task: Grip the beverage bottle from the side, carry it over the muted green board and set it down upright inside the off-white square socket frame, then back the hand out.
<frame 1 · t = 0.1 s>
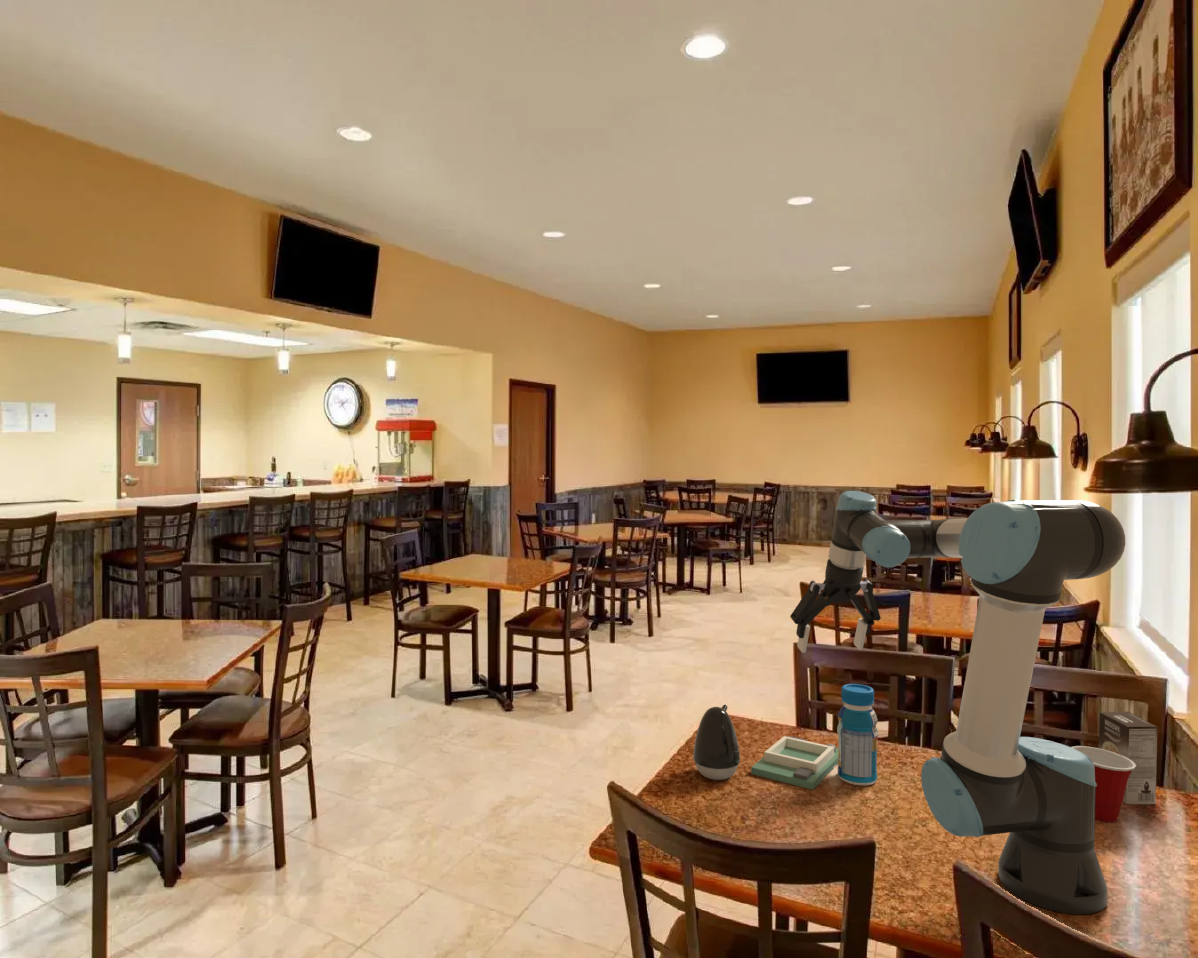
hand: (829, 648, 166), 28 cm above the table, tool tilted 20°, fingers open, 13 cm apart
board: (799, 764, 170), on the table
coffee box: (1126, 795, 154), on the table
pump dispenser: (716, 776, 164), on the table
plastic cup: (1101, 816, 145), on the table
beverage bottle: (857, 779, 162), on the table
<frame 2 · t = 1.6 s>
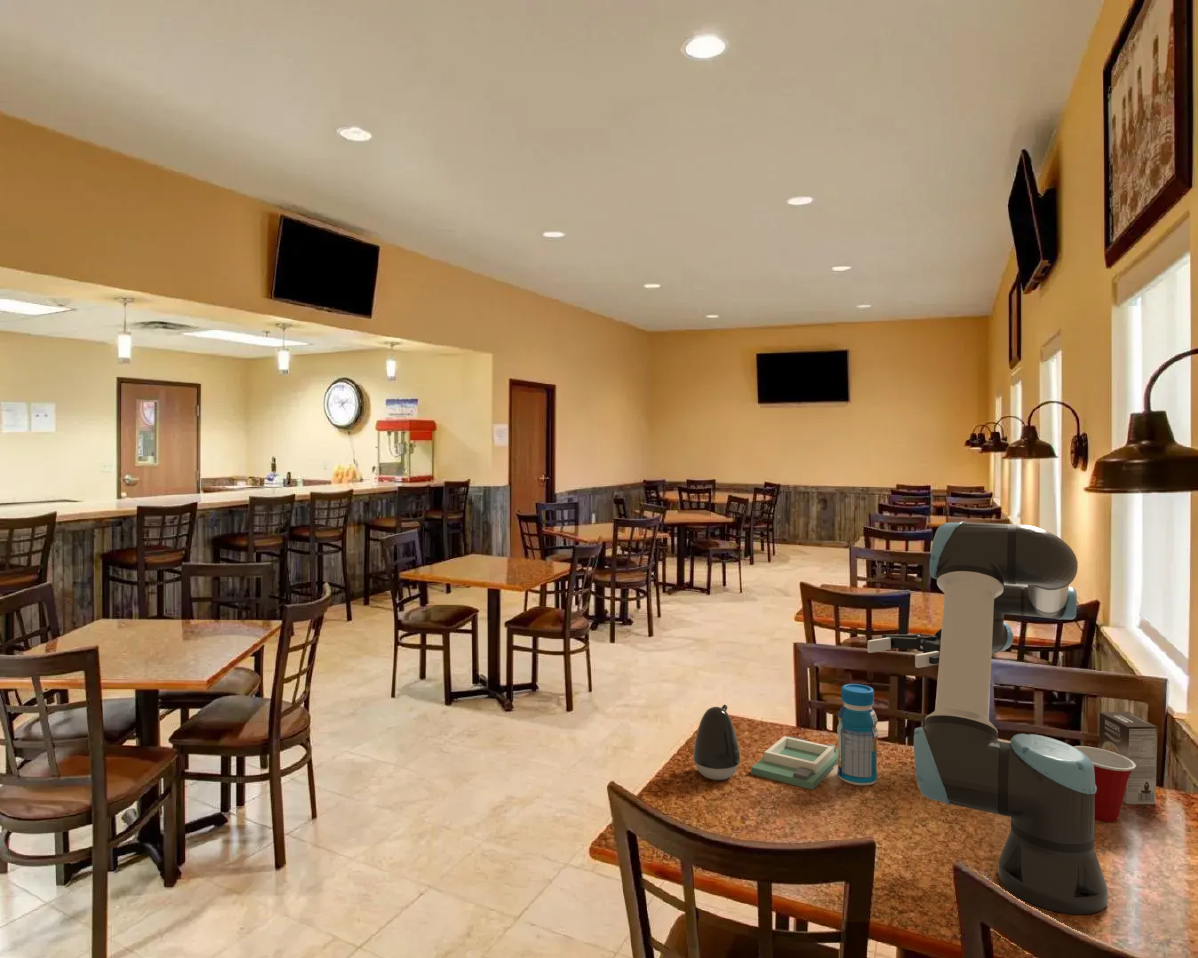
hand: (891, 653, 166), 26 cm above the table, tool horizontal, fingers open, 13 cm apart
nothing on the table moved.
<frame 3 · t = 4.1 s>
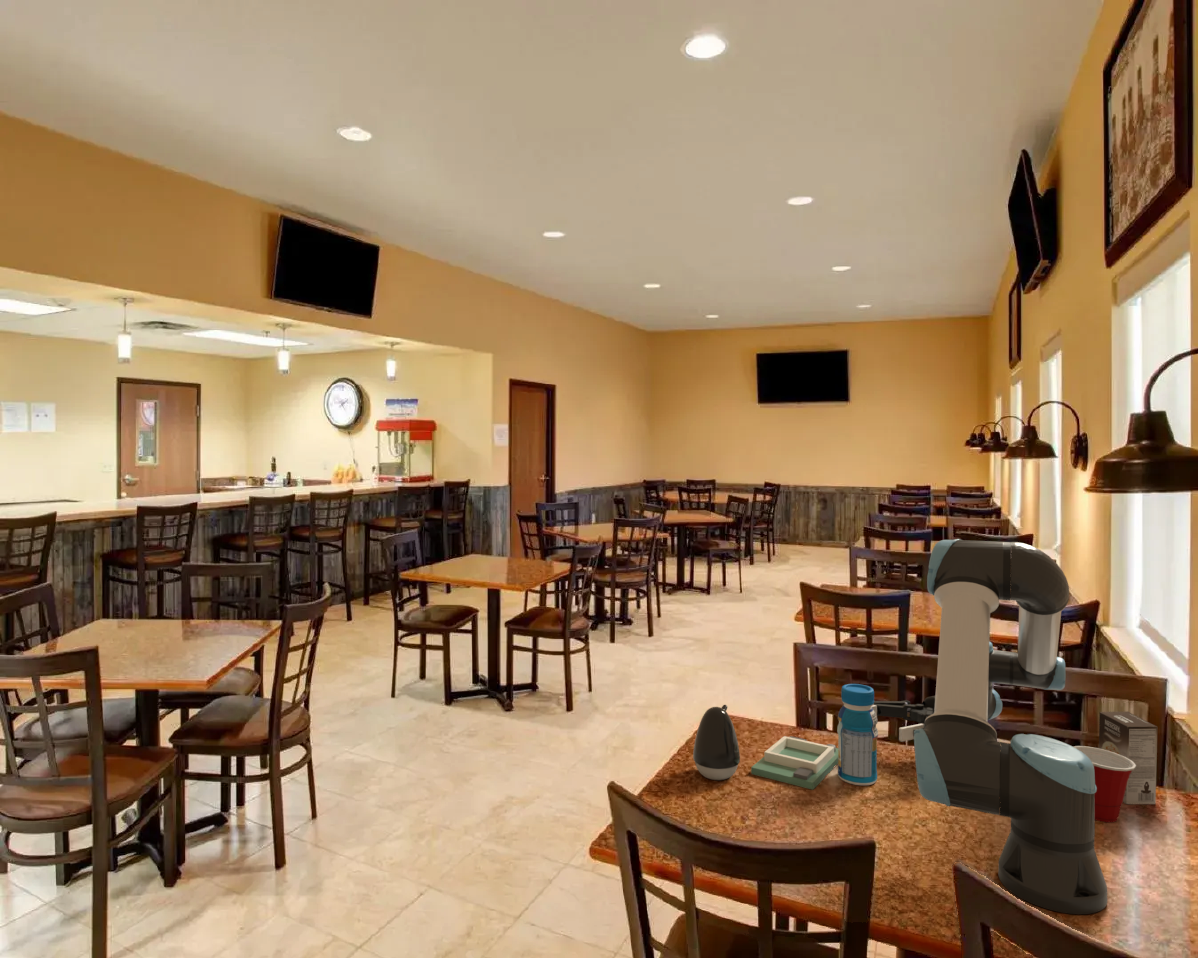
hand: (876, 724, 165), 11 cm above the table, tool horizontal, fingers open, 13 cm apart
nothing on the table moved.
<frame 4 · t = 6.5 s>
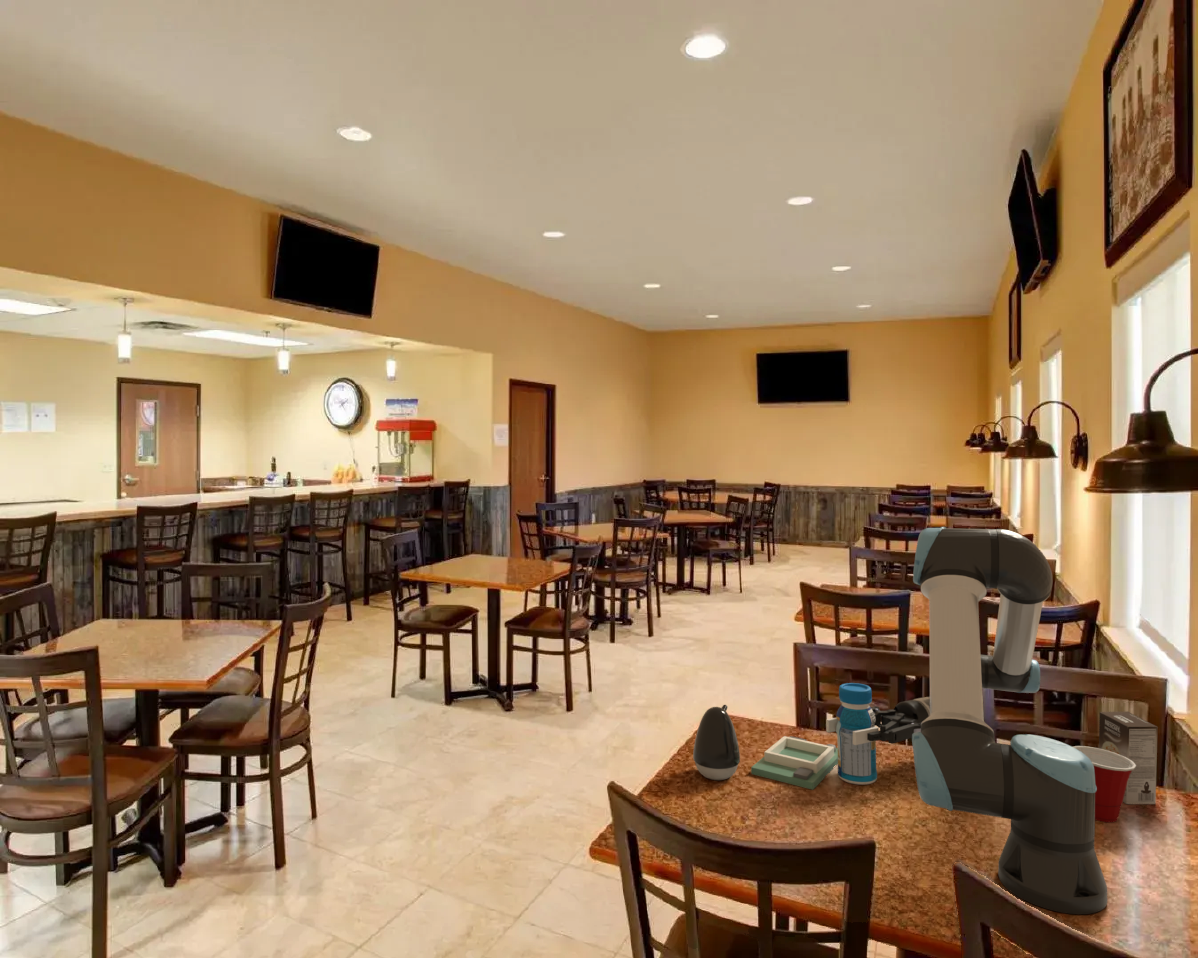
hand: (840, 731, 160), 11 cm above the table, tool horizontal, fingers closed on beverage bottle, 7 cm apart
beverage bottle: (857, 778, 162), on the table, touching gripper
everything else where it was.
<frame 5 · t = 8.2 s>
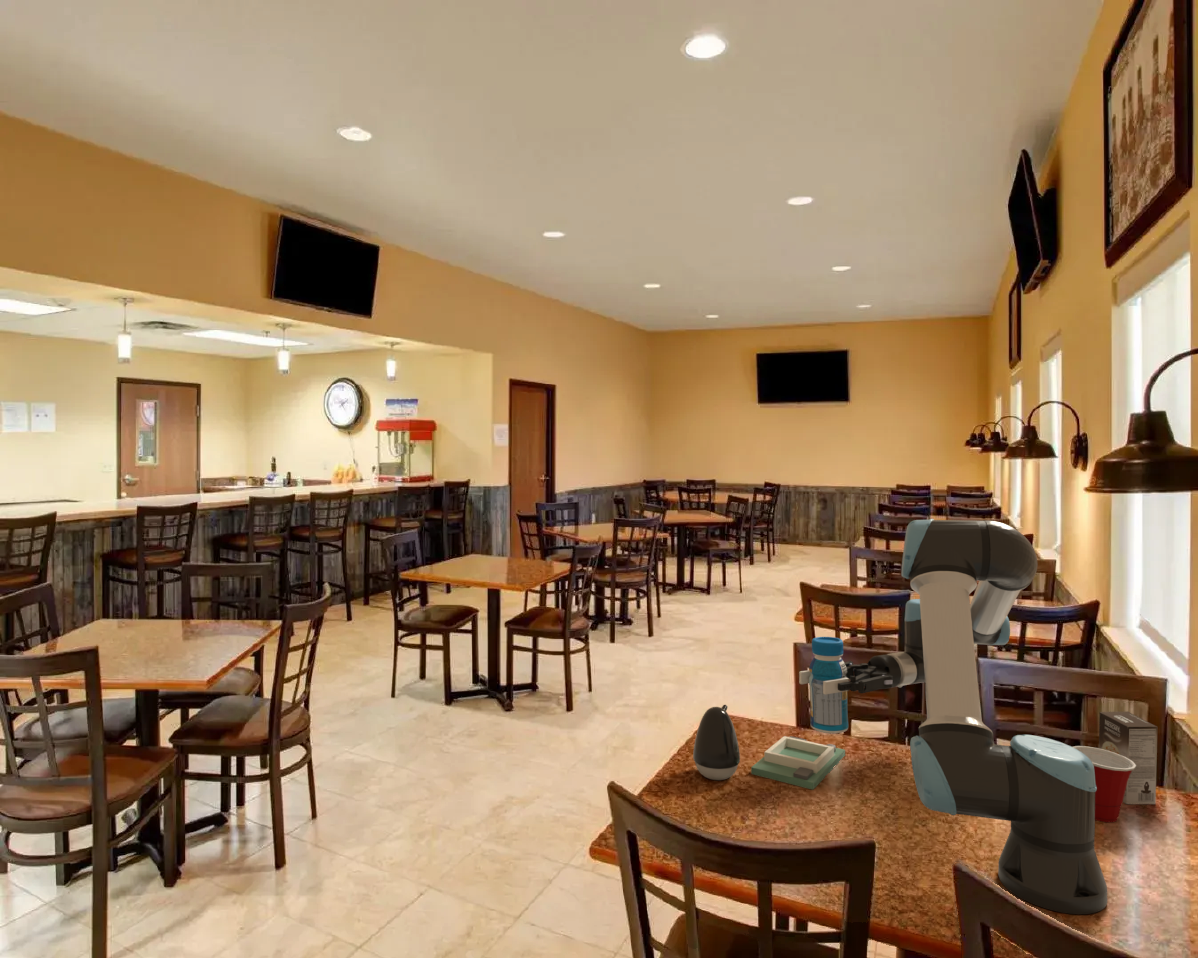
hand: (812, 682, 165), 20 cm above the table, tool horizontal, fingers closed on beverage bottle, 7 cm apart
beverage bottle: (829, 729, 167), point 9 cm above the table, touching gripper
everything else where it was.
when the fingers open (14 cm above the table, at t = 10.2 s): beverage bottle drops 1 cm, resting on board.
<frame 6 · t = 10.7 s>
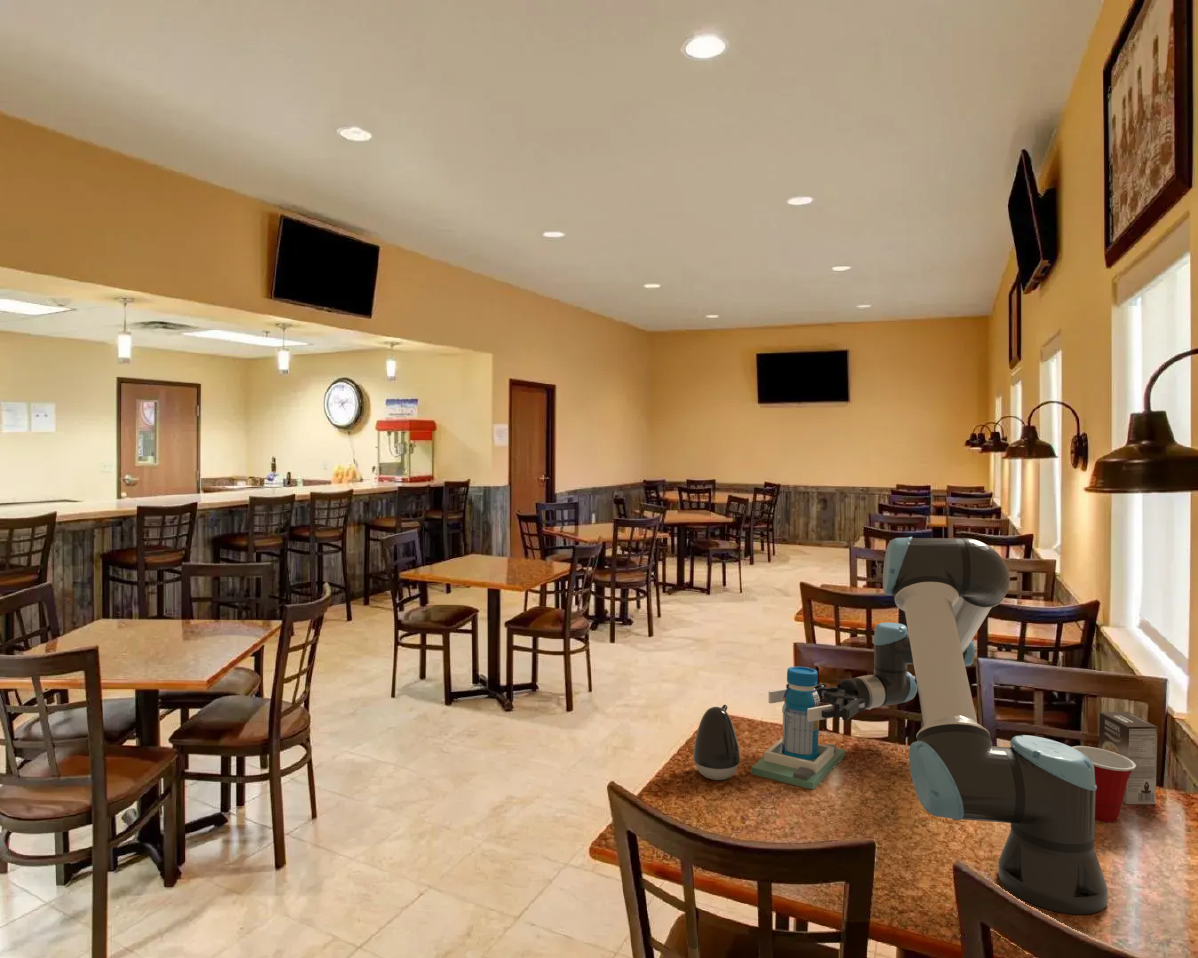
hand: (788, 705, 168), 14 cm above the table, tool horizontal, fingers open, 13 cm apart
beverage bottle: (799, 757, 170), point 1 cm above the table, touching board
everything else where it was.
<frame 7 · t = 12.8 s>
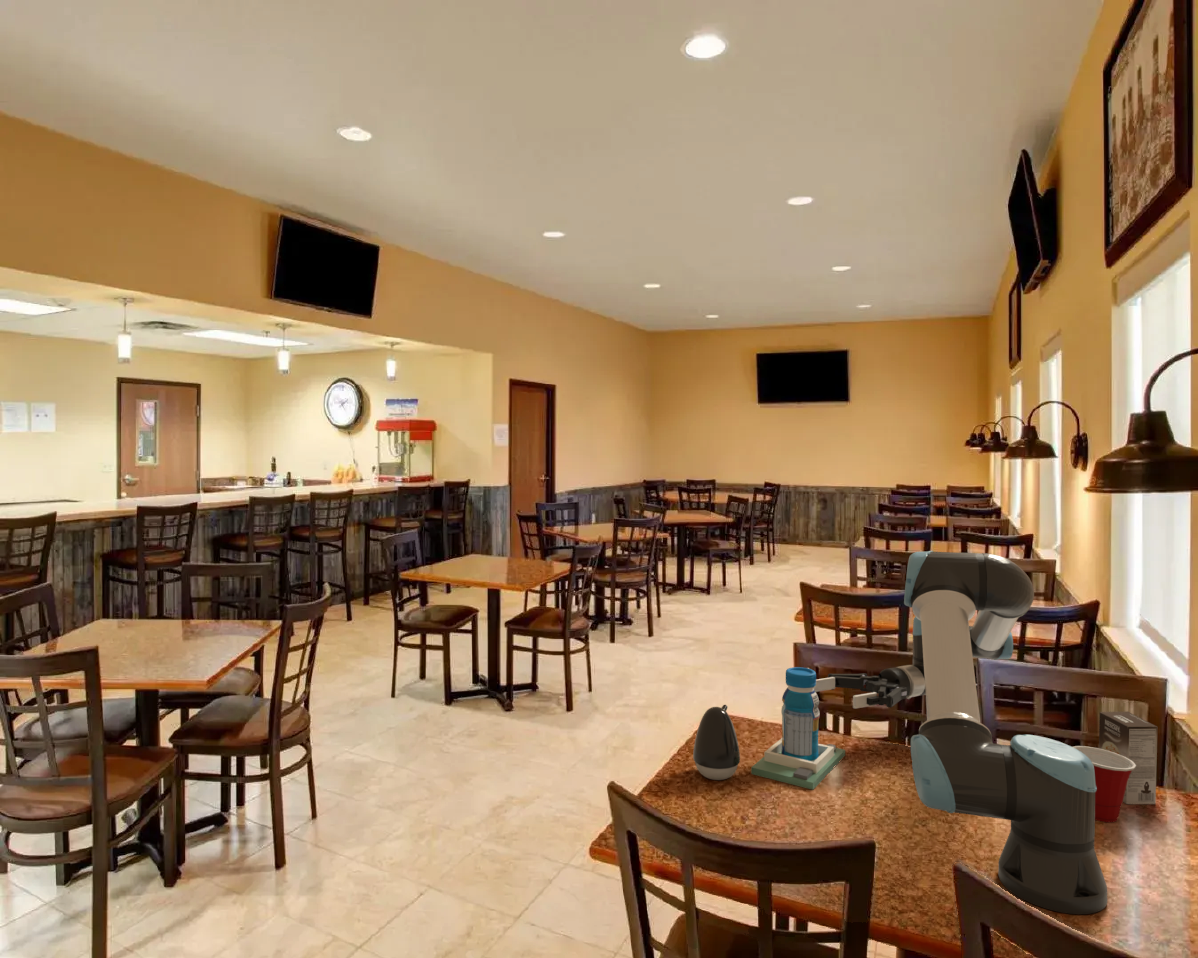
hand: (832, 693, 174), 15 cm above the table, tool horizontal, fingers open, 13 cm apart
nothing on the table moved.
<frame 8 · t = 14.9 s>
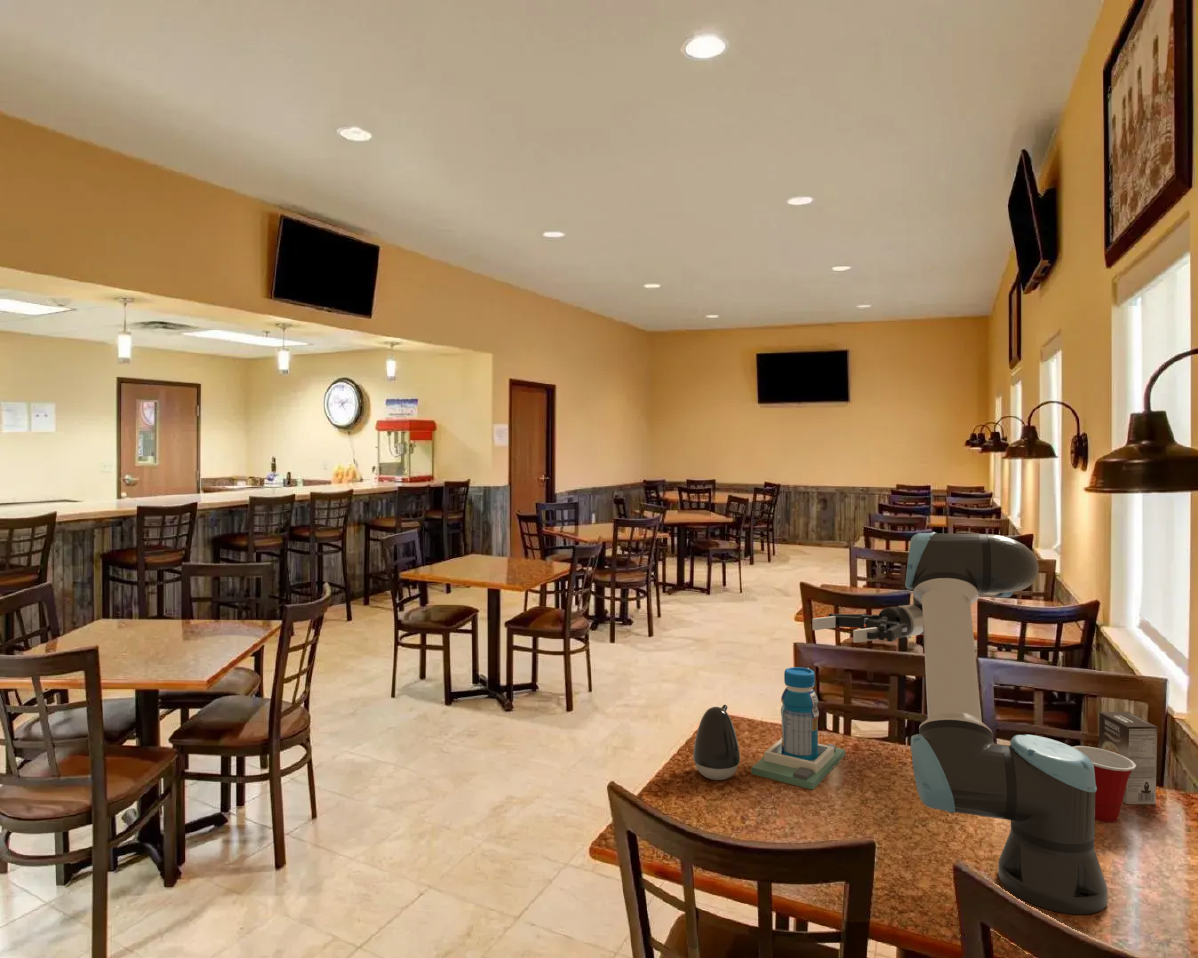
hand: (833, 630, 173), 30 cm above the table, tool horizontal, fingers open, 13 cm apart
nothing on the table moved.
at the end: beverage bottle inside the target area on the board (0.4 cm from its centre), point 1.3 cm above the board's base; beverage bottle tilted 0°; the gripper is holding nothing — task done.
